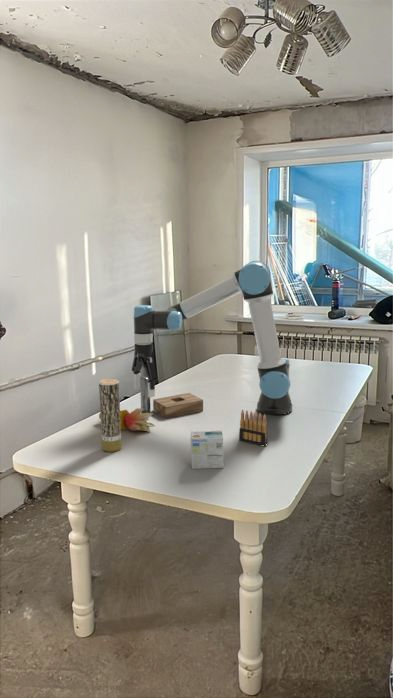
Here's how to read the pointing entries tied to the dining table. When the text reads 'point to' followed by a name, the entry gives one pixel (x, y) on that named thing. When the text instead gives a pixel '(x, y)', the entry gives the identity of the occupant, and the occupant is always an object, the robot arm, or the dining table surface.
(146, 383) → the pin
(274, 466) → the dining table surface
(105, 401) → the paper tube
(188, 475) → the dining table surface
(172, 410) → the bore block
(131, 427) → the torch
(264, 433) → the ammunition clip
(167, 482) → the dining table surface
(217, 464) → the light bulb box
